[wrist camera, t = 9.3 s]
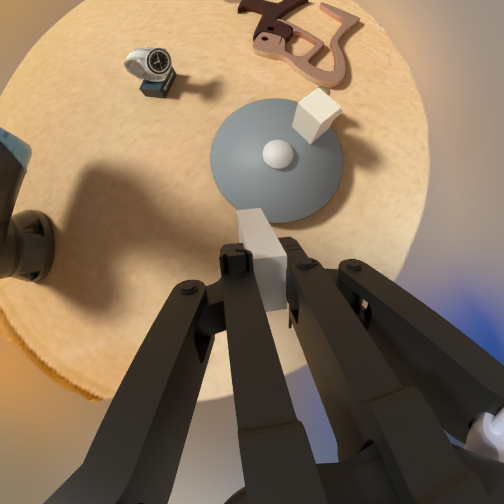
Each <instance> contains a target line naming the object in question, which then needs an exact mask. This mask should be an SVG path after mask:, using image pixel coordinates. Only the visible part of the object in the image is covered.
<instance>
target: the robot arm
mask: <svg viewBox="0 0 504 504" xmlns="http://www.w3.org/2000/svg"><path fill="white" fill-rule="evenodd" d="M31 154H32V150H31V147H30V146H29V145H28V144H27V143H26V142H24V141H23V140H21V139H19V138H18V137H16V136H15V135H13V134H11V133H9V132H7V131H6V130H4V129H3V128H1V127H0V279H2V278H7V277H13V278H16V279H20V280H23V281H27V282H33V281H38V280H41V279H43V278H44V277H45V276H46V275H47V274H48V272H49V270H50V268H51V265H52V262H53V257H54V236H53V231H52V227H51V224H50V222H49V220H48V219H47V217H46V216H45V215H44V214H43V213H42V212H40V211H37V210H25V211H23V212H20V213H18V214H15V215H13V216H12V212H13V209H14V206H15V202H16V199H17V196H18V193H19V190H20V187H21V184H22V182H23V179H24V176H25V174H26V173H27V167H28V164H29V161H30V158H31ZM236 213H237V225H238V236H239V243H236V244H227V245H223V247H222V248H221V249H220V253H221V254H220V257H219V260H220V267H221V275H222V277H221V278H220V279H219V280H218V281H217V282H216V283H214V284H211V285H209V286H205V284H204V283H203V282H201V281H199V280H186V281H183V282H181V283H179V284H177V285H176V286H175V287H174V288H173V290H172V292H171V293H170V295H169V297H168V298H167V300H166V302H165V304H164V305H163V307H162V309H161V311H160V312H159V314H158V316H157V318H156V319H155V321H154V323H153V325H152V326H151V328H150V330H149V332H148V334H147V335H146V337H145V339H144V341H143V343H142V345H141V346H140V348H139V350H138V352H137V354H136V356H135V357H134V359H133V361H132V363H131V365H130V367H129V369H128V371H127V373H126V375H125V376H124V378H123V380H122V382H121V384H120V386H119V388H118V390H117V392H116V394H115V396H114V398H113V400H112V402H111V404H110V406H109V408H108V410H107V413H106V414H105V417H104V419H103V421H102V423H101V425H100V427H99V429H98V431H97V433H96V436H95V438H94V440H93V442H92V444H91V447H90V449H89V451H88V453H87V456H86V458H85V460H84V462H83V464H82V465H81V466H80V467H79V468H78V469H77V470H76V471H75V472H74V473H73V474H72V475H71V476H70V478H68V479H67V480H66V481H65V482H64V483H63V484H62V485H61V486H60V488H58V489H57V490H56V491H55V493H53V495H51V496H50V497H49V498H48V499H47V500H46V501H45V502H44V503H43V504H167V503H168V500H169V497H170V494H171V492H172V488H173V484H174V481H175V477H176V473H177V470H178V466H179V462H180V459H181V455H182V452H183V448H184V444H185V441H186V437H187V434H188V430H189V426H190V423H191V419H192V416H193V412H194V409H195V405H196V402H197V398H198V395H199V391H200V388H201V384H202V381H203V378H204V374H205V371H206V367H207V364H208V360H209V357H210V353H211V350H212V347H213V343H214V340H215V334H217V333H219V332H222V331H225V330H227V340H228V349H229V358H230V367H231V376H232V385H233V393H234V401H235V409H236V416H237V424H238V439H239V448H240V455H241V461H242V468H243V474H244V480H245V487H244V488H242V489H240V490H238V491H237V492H236V493H235V494H233V495H232V496H231V497H230V498H229V499H228V500H227V501H226V502H225V503H224V504H504V366H503V365H502V364H501V363H499V362H498V361H497V360H496V359H495V358H493V357H492V356H491V355H490V354H489V353H487V352H486V351H485V350H484V349H482V348H481V347H480V346H479V345H478V344H476V343H475V342H474V341H473V340H471V339H470V338H469V337H467V336H466V335H465V334H464V333H462V332H461V331H460V330H459V329H457V328H456V327H455V326H453V325H452V324H451V323H449V322H448V321H447V320H445V319H444V318H443V317H441V316H440V315H439V314H437V313H436V312H435V311H433V310H432V309H430V308H429V307H428V306H426V305H425V304H424V303H422V302H421V301H420V300H418V299H417V298H415V297H414V296H413V295H411V294H410V293H408V292H407V291H405V290H404V289H403V288H401V287H400V286H398V285H397V284H396V283H394V282H393V281H391V280H390V279H388V278H387V277H385V276H384V275H382V274H381V273H379V272H378V271H376V270H375V269H374V268H372V267H371V266H369V265H368V264H366V263H364V262H362V261H360V260H356V259H348V260H344V261H342V262H340V264H339V269H324V268H323V267H322V265H321V264H320V263H319V262H318V261H317V260H315V259H312V258H308V256H307V255H306V253H305V252H304V251H303V249H302V248H301V246H300V245H299V243H298V242H297V240H295V239H293V238H291V237H284V238H277V236H276V235H275V233H274V231H273V229H272V227H271V226H270V224H269V222H268V220H267V219H266V217H265V215H264V213H263V212H262V210H261V208H253V209H243V210H236ZM363 299H364V300H365V301H367V302H368V306H367V309H366V308H364V307H363V306H362V303H363ZM287 301H288V303H289V328H291V325H292V324H293V326H294V329H295V331H296V334H297V337H298V339H299V342H300V344H301V347H302V350H303V352H304V355H305V358H306V360H307V363H308V365H309V368H310V371H311V373H312V376H313V379H314V381H315V384H316V387H317V389H318V392H319V394H320V397H321V400H322V403H323V405H324V408H325V411H326V414H327V416H328V419H329V422H330V424H331V427H332V429H333V433H334V435H335V438H336V441H337V446H338V460H339V462H338V463H324V464H316V463H315V460H314V457H313V453H312V450H311V447H310V443H309V440H308V437H307V434H306V431H305V428H304V426H303V424H302V422H301V421H299V420H298V419H297V417H296V415H295V411H294V408H293V405H292V401H291V398H290V395H289V391H288V388H287V384H286V381H285V377H284V374H283V371H282V367H281V364H280V360H279V357H278V353H277V350H276V347H275V343H274V340H273V336H272V333H271V329H270V326H269V322H268V319H267V316H266V312H268V311H275V310H281V309H287ZM443 429H444V430H445V431H446V432H447V433H449V434H450V435H452V436H453V437H454V438H456V439H457V440H459V441H461V442H463V443H465V446H464V447H463V448H461V447H458V446H456V445H454V444H451V442H450V440H449V439H448V437H447V435H446V434H445V432H444V430H443Z"/></svg>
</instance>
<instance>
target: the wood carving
mask: <svg viewBox="0 0 504 504" xmlns="http://www.w3.org/2000/svg"><path fill="white" fill-rule="evenodd" d="M305 3H308V0H283V1H281V2H280V3H273V2H269V1H264V0H242V1H241V2H240V5H239V7H238V14H239V13H241V12H243V11H250V12H255V13H258V14H261V15H263V16H262V18H261V20H260V21H259V24H258V26H257V28H256V30H255V33H254V36H253V42H254V43H253V52H254V54H256V55H258V56H262V57H265V58H270V59H277V60H281V61H283V62H285V63H287V64H289V65H290V66H291V67H292V68H293V69H294V71H295V72H297V73H298V74H299V75H301V76H302V77H304V78H305V79H307V80H308V81H310V82H312V83H314V84H316V85H319V86H326V87H327V88H333V87H336V86H338V85H339V84H340V83H341V82H342V80H343V78H344V76H345V73H346V64H345V58H344V55H343V53H342V50H341V48H340V46H339V44H338V42H339V40H340V39H341V38H342V36H343V35H344V34H346V33H347V32H348V31H349V30H350V29H352V28H353V27H354V26H355V25H356V24H357V23H358V22H359V20H360V18H359V17H357V16H355V15H352V14H350V13H348V12H345V11H343V10H341V9H338V8H336V7H333V6H330V5H328V4H325V3H321V4H320V9H321V10H322V11H323V12H324V13H326V14H328V15H329V16H331V17H332V18H334V19H336V20H337V21H339V22H341V23H342V25H341V26H340V28H339V29H338V31H337V32H336V33H335V35H334V36H333V37H332V39H331V42H330V47H331V50H332V53H333V56H334V71H332V72H328V71H323V70H321V69H319V68H317V67H315V66H313V65H311V64H310V63H309V62H310V61H311V60H312V59H313V58H314V57H315V56H316V55H317V54H318V53H319V52H320V51H321V50H322V49H323V46H324V42H323V41H321V40H320V39H318V38H317V37H315V36H313V35H312V34H310V33H308V32H306V31H305V30H303V29H301V28H299V27H298V26H296V25H294V24H292V23H290V22H287V21H285V20H281V19H280V18H282V17H283V16H284V15H286V14H287V13H289V12H290V11H292V10H294V9H295V8H297V7H298V6H300V5H302V4H305ZM291 35H292V36H299V37H301V38H303V39H305V40H307V41H309V42H310V43H312V44H313V45H315V46H314V47H313V48H312V49H311V50H310V51H309V52H308V53H307V54H305V55H304V56H300V57H299V56H295V55H292V54H290V53H288V52H287V51H285V43H286V42H288V41H289V40H290V38H291Z"/></svg>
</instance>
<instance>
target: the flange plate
mask: <svg viewBox="0 0 504 504" xmlns="http://www.w3.org/2000/svg"><path fill="white" fill-rule="evenodd" d="M341 113H342V110H341V107H340V106H339V105H338V104H337V103H336V102H335V101H334V100H332V99H331V98H330V97H329V96H328V95H327V94H326V93H325V92H323V91H322V90H321V89H320V88H319V87H318V88H317V89H316V90H314V91H313V92H312V93H310V94H309V95H308V96H306V97H305V98H304V99H302V100H301V101H300V102H295V101H291V100H287V99H263V100H259V101H255V102H252V103H249V104H247V105H245V106H243V107H241V108H239V109H238V110H236V111H235V112H233V113H232V114H231V115H230V116H229V117H228V118H227V119H226V120H225V121H224V122H223V124H222V125H221V126H220V128H219V130H218V131H217V133H216V135H215V138H214V140H213V144H212V148H211V155H210V163H211V170H212V174H213V177H214V180H215V183H216V185H217V187H218V189H219V190H220V192H221V193H222V195H223V196H224V197H225V198H226V200H227V201H228V202H229V203H230V204H231V205H232V206H234V207H235V208H236V209H237V210H243V209H253V208H261V210H262V212H263V213H264V215H265V217H266V219H267V220H268V222H271V223H286V222H293V221H296V220H300V219H303V218H305V217H307V216H309V215H311V214H313V213H315V212H316V211H318V210H319V209H320V208H322V207H323V206H324V205H325V204H326V203H327V202H328V201H329V200H330V199H331V197H332V196H333V194H334V193H335V191H336V189H337V187H338V185H339V182H340V179H341V176H342V170H343V155H342V149H341V145H340V142H339V140H338V137H337V135H336V134H335V132H334V130H333V129H332V127H331V124H332V122H333V120H334V119H335V118H337V117H338V116H339V115H340V114H341Z"/></svg>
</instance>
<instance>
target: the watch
mask: <svg viewBox="0 0 504 504" xmlns="http://www.w3.org/2000/svg"><path fill="white" fill-rule="evenodd" d="M133 60H139V61H138V62H137V61H133ZM124 66H125V68H126V69H127V71H128V72H129V73H131V74H132V75H134V76H136V77H137V78H140V79H144V80H143V82H142V84H141V86H140V88H139V89H140V90H141V91H142V92H143V94H144V95H145V96H149V97H159V98H166V95H167V93H168V91H169V89H170V87H171V85H172V83H173V81H174V79H175V77H176V75H177V74H176V72H175V71H174V69H173V67H172V63H171V58H170V55H169V53H168V52H167V51H166V49H164V48H149V47H147V48H139V49H135V50H133V51H131V52H130V54H129V56H128V57H127V59H126V61H125V62H124Z"/></svg>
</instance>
